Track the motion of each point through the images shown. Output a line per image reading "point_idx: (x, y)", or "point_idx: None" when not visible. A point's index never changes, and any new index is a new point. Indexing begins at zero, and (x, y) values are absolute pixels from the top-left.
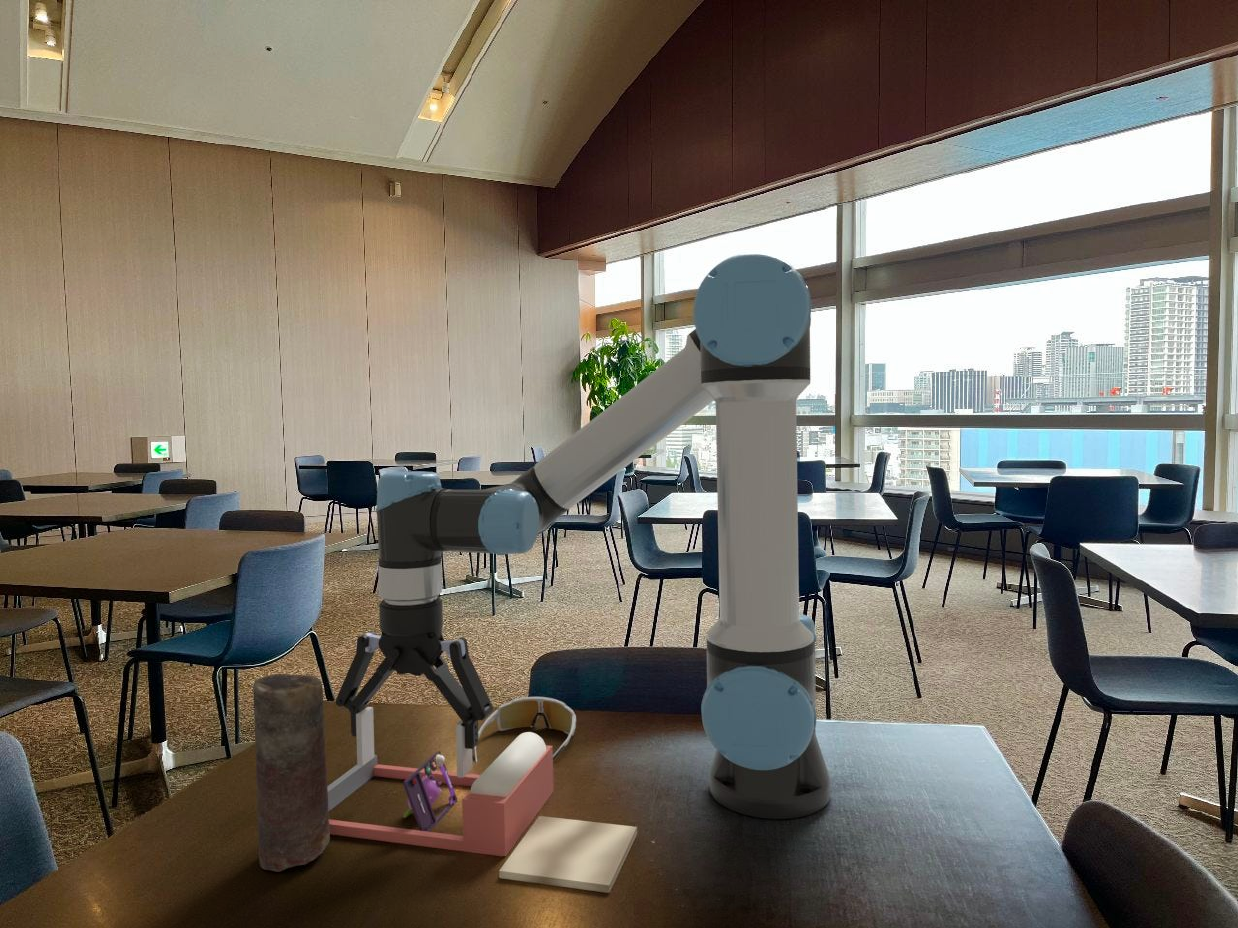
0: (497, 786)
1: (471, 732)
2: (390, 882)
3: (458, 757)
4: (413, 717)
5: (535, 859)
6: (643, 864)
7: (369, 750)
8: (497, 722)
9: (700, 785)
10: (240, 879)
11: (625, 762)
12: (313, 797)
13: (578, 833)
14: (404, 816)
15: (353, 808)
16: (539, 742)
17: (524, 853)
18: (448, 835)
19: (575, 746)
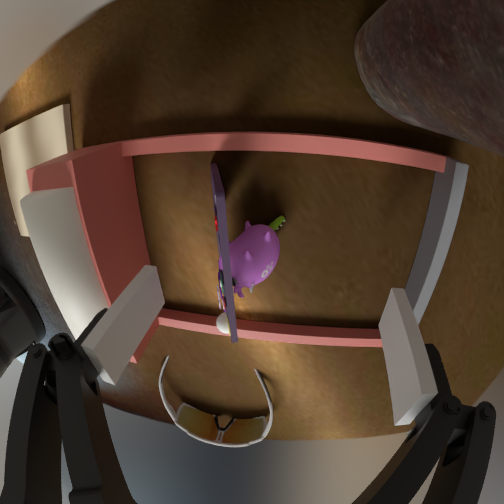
0: (29, 197)
1: (85, 334)
2: (191, 28)
3: (132, 291)
4: (373, 425)
5: (45, 144)
6: (5, 184)
7: (387, 327)
8: (266, 424)
9: (43, 314)
10: None
11: None
12: (394, 2)
13: None
14: (280, 216)
15: (389, 236)
16: None
17: (57, 151)
18: (149, 150)
19: (166, 387)
